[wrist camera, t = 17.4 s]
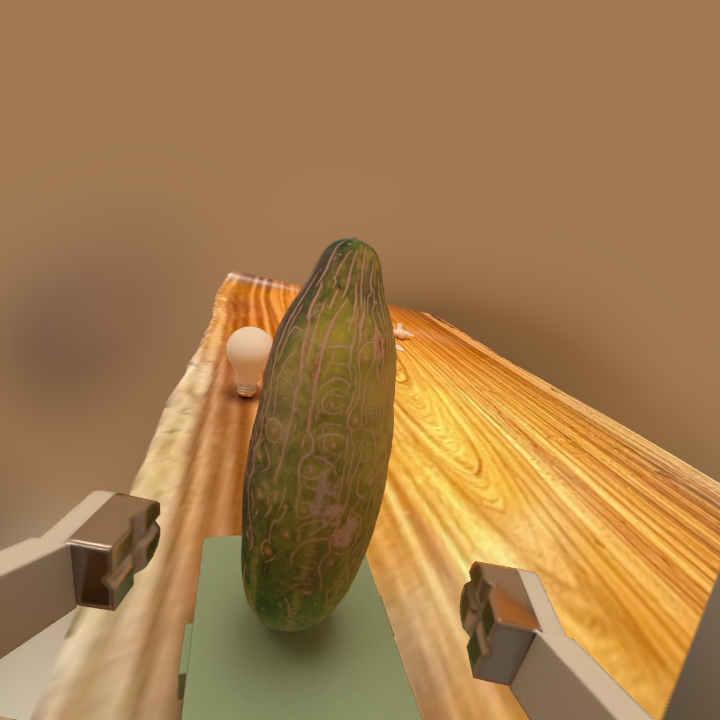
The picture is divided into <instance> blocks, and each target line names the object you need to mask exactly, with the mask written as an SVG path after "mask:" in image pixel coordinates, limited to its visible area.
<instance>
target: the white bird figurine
mask: <svg viewBox="0 0 720 720" xmlns="http://www.w3.org/2000/svg"><path fill="white" fill-rule="evenodd" d="M397 326H398V328H397V329H393V331H394V334H397V337H398V338H399V339H403V338H404V337H405V336H406V335H407V336H413V335H412V334H411V333H410V332H408V331H405V330H403V329H402V326H403V324H399V323H397ZM394 336H395V335H394Z"/></svg>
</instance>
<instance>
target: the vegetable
mask: <svg viewBox="0 0 720 720" xmlns="http://www.w3.org/2000/svg"><path fill="white" fill-rule="evenodd" d="M396 361H397V357H396V345H395V336H394V331H393V326H392V321H391V317H390V313H389V309H388V306H387V301H386V296H385V291H384V285H383V279H382V272H381V266H380V261H379V258H378V256H377V254H376V252H375V250H374V249H373V248H372V247H371V246H369V245H368V244H367V243H365V242H362V241H360V240H358V239H356V238H344V239H341V240H338V241H335V242H333V243H332V244H331V245H329V246H328V247H327V248H326V249H325V250H324V251H323V253H322V254H321V256H320V258H319V260H318V262H317V263H316V265H315V267H314V269H313V271H312V273H311V274H310V276H309V278H308V280H307V281H306V283H305V284H304V285H303V287H302V288H301V290H300V292H299V293H298V295H297V296H296V298H295V299H294V301H293V302H292V304H291V305H290V307H289V308H288V310H287V312H286V313H285V315H284V317H283V319H282V321H281V323H280V325H279V327H278V329H277V331H276V334H275V337H274V340H273V344H272V347H271V350H270V353H269V357H268V360H267V364H266V368H265V373H264V379H263V386H262V391H261V395H260V401H259V406H258V410H257V415H256V418H255V422H254V426H253V430H252V435H251V439H250V445H249V452H248V458H247V463H246V470H245V476H244V483H243V499H242V546H241V572H242V580H243V587H244V592H245V596H246V599H247V602H248V604H249V606H250V608H251V610H252V612H253V613H254V615H255V616H256V617H257V618H258V619H259V620H260V621H261V622H263V623H264V624H265V625H267V626H269V627H270V628H273V629H277V630H283V631H301V630H305V629H308V628H310V627H313V626H314V625H316V624H318V623H319V622H321V621H322V620H324V619H325V618H326V617H327V616H328V615H329V614H330V613H331V612H332V611H333V610H334V609H335V608H336V607H337V606H338V604H339V603H340V602H341V600H342V599H343V598H344V596H345V595H346V594H347V592H348V591H349V589H350V586H351V584H352V583H353V581H354V579H355V577H356V575H357V573H358V570H359V568H360V565H361V563H362V561H363V559H364V556H365V554H366V551H367V548H368V546H369V543H370V540H371V537H372V535H373V532H374V528H375V524H376V521H377V517H378V514H379V510H380V507H381V503H382V498H383V494H384V490H385V485H386V479H387V469H388V463H389V458H390V454H391V448H392V439H393V427H394V407H393V405H394V394H395V380H396Z"/></svg>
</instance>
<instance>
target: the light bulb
mask: <svg viewBox="0 0 720 720" xmlns="http://www.w3.org/2000/svg"><path fill="white" fill-rule="evenodd" d="M272 344H273V342H272V340H271V338H270V337H269V335H268V334H267V333H266V332H265V331H263V330H261V329H259V328H256V327H244V328H240V329H239V330H237V331H235V332H234V333H233V334H232V335H231V336H230V338H229V340H228V342H227V347H226V353H227V356H228V359H229V361H230V362H231V364H232V366H233V368H234V370H235V373H236V381H237V382H238V384H237V387H236V388H237V390H236V391H237V393H238V394H239V395H240V396H243V397H251V396H253V395H255V394H256V391H257V383H258V382H259V380H260V375H261V373H262V372H263V370H264V369H265V368H266V364H267V360H268V357H269V353H270V350H271V347H272Z"/></svg>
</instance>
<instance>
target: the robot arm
mask: <svg viewBox="0 0 720 720" xmlns="http://www.w3.org/2000/svg"><path fill="white" fill-rule="evenodd" d="M159 515H160V503H158V502H157V501H153V500H148V499H144V498H139V497H135V496H130V495H125V494H121V493H114V492H110V491H105V490H97V491H94V492H92V493H90V494H89V495H88V496H87V497H86V498H85V499H84V500H83V501H81V502H80V503H79V504H78V505H77V506H76V507H75V508H74V509H72V510H71V511H70V512H69V513H68V514H67V515H66V516H65V517H64V518H62V519H61V520H60V521H59V522H58V523H57V524H56V525H55V526H53V527H52V528H51V529H50V530H49V531H48V532H47V533H46V534H44V535H43V536H42V537H41V538H35V537H33V538H30V539H28V540H26V541H23V542H21V543H18V544H16V545H13V546H11V547H9V548H6V549H4V550H1V551H0V659H1V658H2V657H4V656H6V655H7V654H9V653H10V652H11V651H13V650H14V649H16V648H17V647H19V646H20V645H22V644H23V643H25V642H26V641H28V640H29V639H31V638H32V637H34V636H35V635H36V634H38V633H40V632H41V631H42V630H44V629H45V628H47V627H49V626H50V625H51V624H53V623H54V622H56V621H57V620H59V619H60V618H62V617H63V616H65V615H66V614H68V613H69V612H71V611H72V610H74V609H75V608H76V607H77V606H76V605H79V606H85V607H92V608H98V609H105V610H111V611H115V610H116V608H117V607H118V606H119V604H120V603H121V601H122V600H123V599H124V597H125V596H126V594H127V593H128V592H129V590H130V589H131V587H132V586H133V585H134V579H133V575H134V574H135V573H137V572H139V571H141V570H142V569H144V568H145V567H146V566H147V565H148V563H149V562H150V560H151V559H152V557H153V555H154V553H155V550H156V548H157V546H158V543H159V538H160V527H159V525H158V524H157V522H156V521H155V520H156V519H157V517H158V516H159ZM469 573H470V577H471V581H470V582H468V583H467V584H465V585H464V588H463V591H462V594H461V601H460V614H461V621H462V626H463V628H464V630H465V631H466V632H467V634H468V635H469V636H470V640H469V642H468V645H467V651H468V655H469V660H470V665H471V669H472V674H473V678H475V679H480V680H485V681H489V682H494V683H498V684H503V685H507V686H510V690H511V691H512V693H513V694H514V696H515V697H516V699H517V701H518V702H519V704H520V705H521V707H522V708H523V710H524V711H525V713H526V714H527V716H528V717H529V719H530V720H654V719H653V718H652V717H651V716H650V715H649V714H648V713H647V712H646V711H645V710H644V709H643V708H642V707H641V706H640V705H639V704H638V703H637V702H636V701H635V700H634V699H633V698H632V697H631V696H630V695H629V694H628V693H627V692H626V691H625V690H624V689H623V688H622V687H621V686H620V685H619V684H618V683H617V682H616V681H615V680H614V679H613V678H612V677H611V676H610V675H609V674H608V673H607V672H606V671H605V670H604V669H603V668H602V667H601V666H600V665H599V664H598V663H597V662H596V661H595V660H594V659H593V658H592V657H591V656H590V655H589V654H588V653H587V652H586V651H585V650H584V649H583V648H582V647H581V646H580V645H579V644H578V643H577V642H576V641H575V640H574V639H572V638H567V636H566V634H565V632H564V630H563V628H562V626H561V623H560V621H559V619H558V617H557V615H556V613H555V611H554V608H553V606H552V604H551V602H550V600H549V598H548V596H547V593H546V591H545V589H544V587H543V585H542V583H541V580H540V578H539V576H538V575H537V574H536V573H535V572H533V571H528V570H522V569H517V568H514V569H513V568H511V567H505V566H500V565H494V564H488V563H483V562H477V561H475V562H474V563H473V564H472V566H471V569H470V571H469ZM0 720H15V719H10V718H5V717H0Z"/></svg>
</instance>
